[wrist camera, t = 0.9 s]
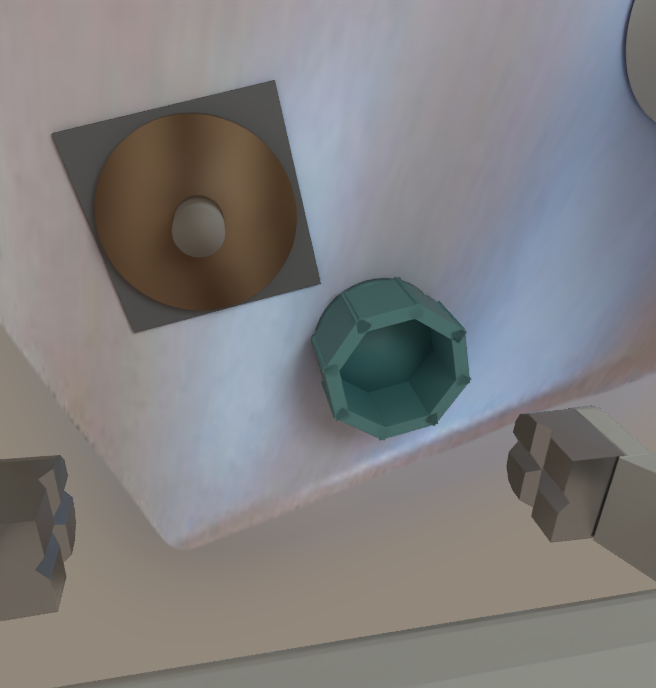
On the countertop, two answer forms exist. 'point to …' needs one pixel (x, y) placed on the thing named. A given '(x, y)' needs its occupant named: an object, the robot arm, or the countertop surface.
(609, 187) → the countertop surface
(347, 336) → the bowl
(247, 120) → the mat
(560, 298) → the countertop surface
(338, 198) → the countertop surface
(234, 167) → the lid
